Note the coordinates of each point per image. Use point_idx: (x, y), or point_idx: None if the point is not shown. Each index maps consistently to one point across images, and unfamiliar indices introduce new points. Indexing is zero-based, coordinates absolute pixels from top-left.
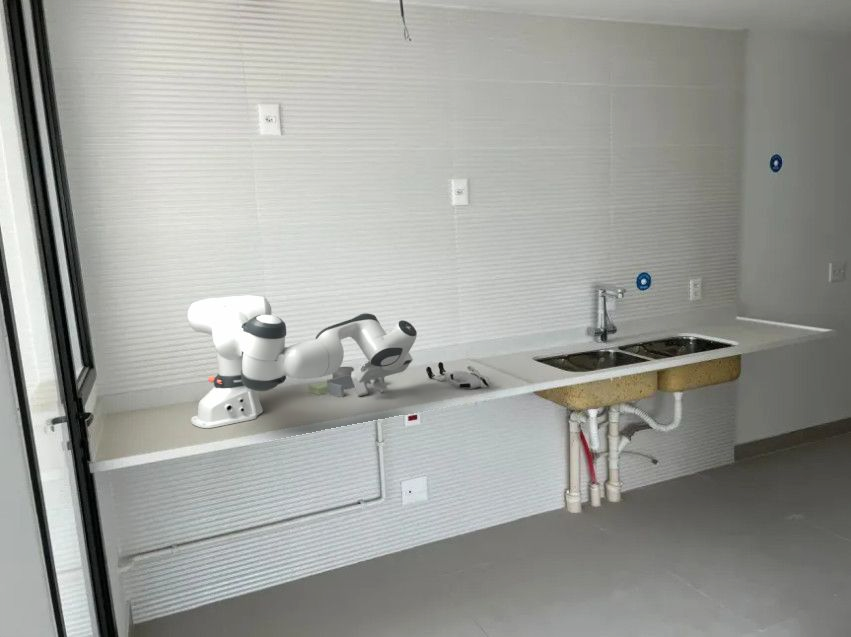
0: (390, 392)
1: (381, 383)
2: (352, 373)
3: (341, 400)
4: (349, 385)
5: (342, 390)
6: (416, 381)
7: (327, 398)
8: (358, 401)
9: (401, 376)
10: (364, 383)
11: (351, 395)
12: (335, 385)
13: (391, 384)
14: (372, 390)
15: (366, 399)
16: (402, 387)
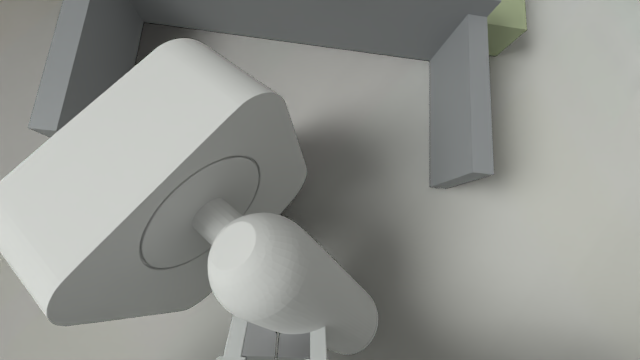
0: (372, 349)
1: (331, 346)
2: (65, 141)
3: None
4: (282, 28)
5: None
6: (636, 282)
7: (32, 87)
8: (77, 339)
9: (633, 114)
10: (189, 269)
11: None
12: (53, 50)
13: (496, 196)
14: (334, 199)
15: (149, 347)
16: (499, 318)
